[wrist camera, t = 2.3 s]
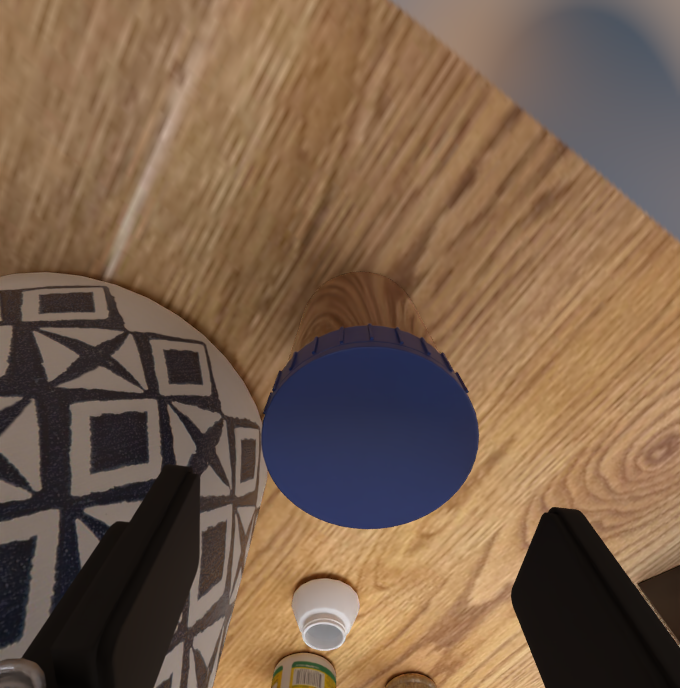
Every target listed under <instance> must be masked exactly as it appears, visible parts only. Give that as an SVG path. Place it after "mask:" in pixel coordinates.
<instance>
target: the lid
mask: <svg viewBox="0 0 680 688" xmlns="http://www.w3.org/2000/svg"><path fill="white" fill-rule="evenodd" d="M272 391H273V393H272V392H271V393H270V395H269V398H268V401H267V404H266V406H265V409H264V412H263V414H265V417H264V420H263V425H262V432H261V446H262V452H263V457H264V461H265V464H266V467H267V469H268V471H269V473H270V475H271V477H272V479H273V481H274V482H275V484H276V485H277V487H278V488H279V489H280V491H281V492H282V493H283V494H284V495H285V496H286V497H287V498H288V499H289V500H290V501H291V502H292V503H294V504H295V505H296V506H297V507H299V508H300V509H302V510H303V511H305V512H306V513H308V514H310V515H312V516H314V517H316V518H318V519H320V520H323V521H326V522H328V523H331V524H335V525H339V526H343V527H349V528H358V529H380V528H388V527H394V526H398V525H402V524H406V523H409V522H412V521H414V520H417V519H419V518H421V517H423V516H426V515H428V514H429V513H431V512H433V511H434V510H436V509H437V508H439V507H440V506H442V505H443V504H444V503H445V502H447V501H448V500H449V499H450V498H451V497H452V496H453V495H454V494H455V493H456V492H457V491H458V490H459V488H460V487H461V486H462V485H463V483H464V482H465V480H466V479H467V477H468V475H469V473H470V472H471V469H472V467H473V464H474V462H475V459H476V454H477V450H478V442H479V430H478V422H477V418H476V413H475V410H474V408H473V406H472V403H471V401H470V399H469V397H468V395H467V394H466V393H468V390H467V388H466V386H465V384H464V383H463V381H462V379H461V377H460V376H459V374H458V372H456V373H455V372H454V370H453V369H452V367H451V365H450V363H449V362H448V360H447V358H446V356H445V354H444V353H443V352H442V353H441V354H440V353H439V352H438V351H437V350H436V349H435V348H434V347H433V346H431V345H430V344H428V343H427V342H426V341H425V339H424V338H423V337H421V338H418V337H416V336H414V335H412V334H410V333H407V332H404V331H401V330H400V329H399V328H398V327H396V328H395V329H394V328H389V327H384V326H372V325H371V324H368V325H367V326H354V327H348V328H344V327H340V329H339V330H336V331H333V332H330V333H327V334H325V335H323V336H321V337H319V338H318V336H316V337H315V338H314V340H313V341H312V342H310V343H309V344H307V345H306V346H304V347H303V348H302V349H301V350H300V351H298V352H296V351H295V352H294V353H293V357H292V359H291V360H290V361H289V362H288V363H287V365H286V366H285V367H284V369H283V370H282V371H279V373H278V375H277V378H276V381H275V384H274V386H273V389H272Z"/></svg>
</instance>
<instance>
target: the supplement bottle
mask: <svg viewBox="0 0 680 688" xmlns="http://www.w3.org/2000/svg"><path fill="white" fill-rule="evenodd" d="M271 688H336V672H335V670H334V668H333V666H332V665H331V664H330V662H328V661H327V660H326V659H325V658H323V657H321V656H318V655H315V654H311V653H296V654H292V655H289V656H287V657H285V658H283V659H282V660H281V661H280V662H279V663H278V664H277V666H276V667H275V670H274V673H273V679H272V685H271Z"/></svg>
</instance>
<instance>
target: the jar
mask: <svg viewBox="0 0 680 688" xmlns="http://www.w3.org/2000/svg"><path fill="white" fill-rule="evenodd" d="M368 324H371V325H372V326H384V327H389V328H394V329H395V328H396V327H398V328H399V329H400V330H401V331H404V332H407V333H410V334H412V335H414V336H416V337H418V338H421V337H423V338H424V339H425V341H426V342H427V343H428V344H430V345H431V346H433V347H434V348H435V349H436V350H437V351H438V349H437V347H436V345H435V343H434V341H433V339H432V338H431V336H430V334H429V332H428V330H427V328H426V326H425V324H424V323H423V321H422V319H421V317H420V315H419V313H418V311H417V310H416V308H415V306H414V304H413V302H412V300H411V299H410V297H409V296H408V294H407V293H406V292H405V291H404V289H402V288H401V287H400V286H399V285H398V284H397V283H395V282H394V281H392V280H391V279H389V278H387V277H385V276H382V275H379V274H376V273H371V272H350V273H345V274H342V275H339V276H337V277H334V278H332V279H330V280H329V281H327V282H326V283H324V284H323V285H322V286H321V287H319V288H318V289H317V290H316V292H315V293H314V294H313V295H312V297H311V298H310V300H309V301H308V303H307V305H306V307H305V310H304V313H303V316H302V319H301V322H300V325H299V328H298V331H297V334H296V337H295V340H294V343H293V346H292V349H291V352H290V355H289V358H288V361H287V363H288V362H289V361H290V360H291V359H292V357H293V353H294V352H295V351H296V352H298V351H300V350H301V349H302V348H303V347H304V346H306V345H307V344H309V343H310V342H312V341H313V340H314V338H315V337H316V336H318V338H319V337H321V336H323V335H325V334H327V333H330V332H333V331H336V330H339V329H340V327H344V328H348V327H354V326H367V325H368ZM438 352H439V351H438ZM286 365H287V364H286Z"/></svg>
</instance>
